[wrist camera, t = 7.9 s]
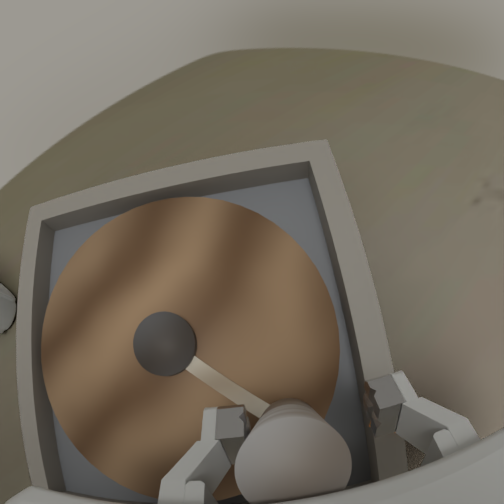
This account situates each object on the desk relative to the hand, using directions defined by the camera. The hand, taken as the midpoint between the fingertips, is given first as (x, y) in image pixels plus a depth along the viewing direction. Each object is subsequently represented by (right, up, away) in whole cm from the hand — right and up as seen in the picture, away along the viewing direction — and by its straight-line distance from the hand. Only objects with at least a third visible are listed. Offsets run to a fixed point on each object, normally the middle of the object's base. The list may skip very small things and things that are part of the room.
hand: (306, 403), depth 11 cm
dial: (-7, 0, +8) cm, 10 cm away
